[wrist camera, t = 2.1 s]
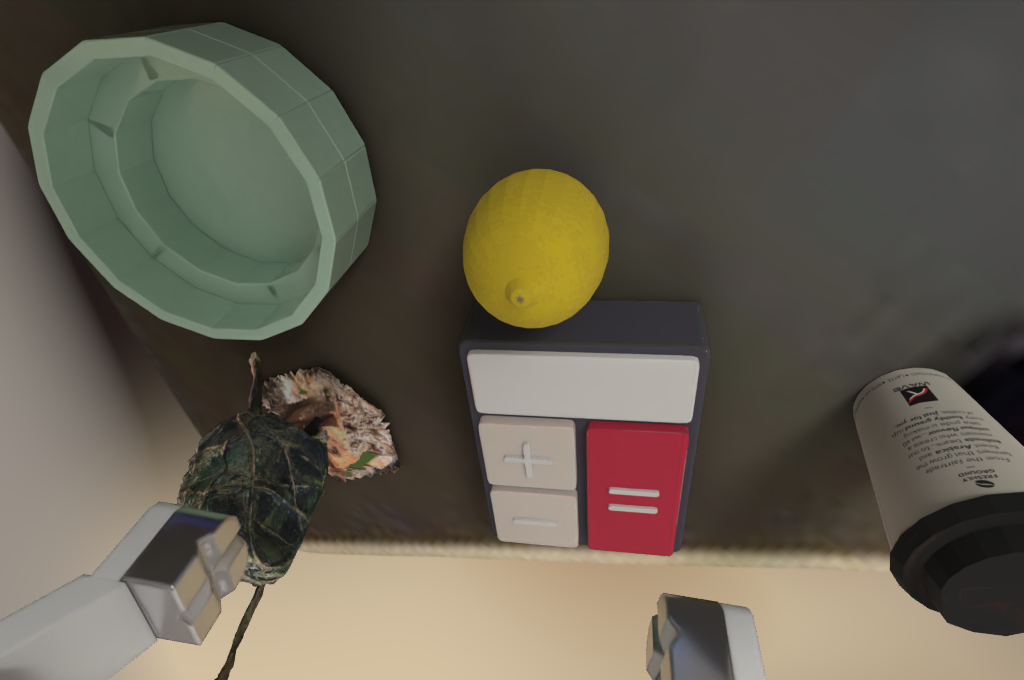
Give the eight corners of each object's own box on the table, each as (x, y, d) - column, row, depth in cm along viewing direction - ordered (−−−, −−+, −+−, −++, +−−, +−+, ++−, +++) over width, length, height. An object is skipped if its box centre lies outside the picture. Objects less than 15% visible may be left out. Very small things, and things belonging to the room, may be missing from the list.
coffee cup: (868, 333, 26) (978, 508, 18) (1025, 364, 26) (1210, 558, 17) (802, 439, 30) (867, 621, 22) (936, 467, 30) (1053, 664, 22)
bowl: (262, -41, 21) (177, -37, 17) (427, 237, 27) (391, 289, 23) (70, 102, 26) (-32, 131, 22) (245, 315, 31) (188, 369, 27)
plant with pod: (366, 328, 31) (73, 760, 14) (411, 475, 37) (243, 891, 21) (233, 330, 32) (-164, 719, 16) (298, 470, 38) (59, 852, 22)
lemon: (470, 160, 24) (414, 238, 18) (598, 130, 23) (587, 203, 16) (505, 273, 27) (468, 375, 21) (621, 253, 26) (620, 356, 19)
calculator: (490, 548, 34) (451, 351, 25) (502, 490, 37) (472, 297, 28) (681, 566, 32) (715, 359, 23) (676, 502, 35) (704, 300, 26)
